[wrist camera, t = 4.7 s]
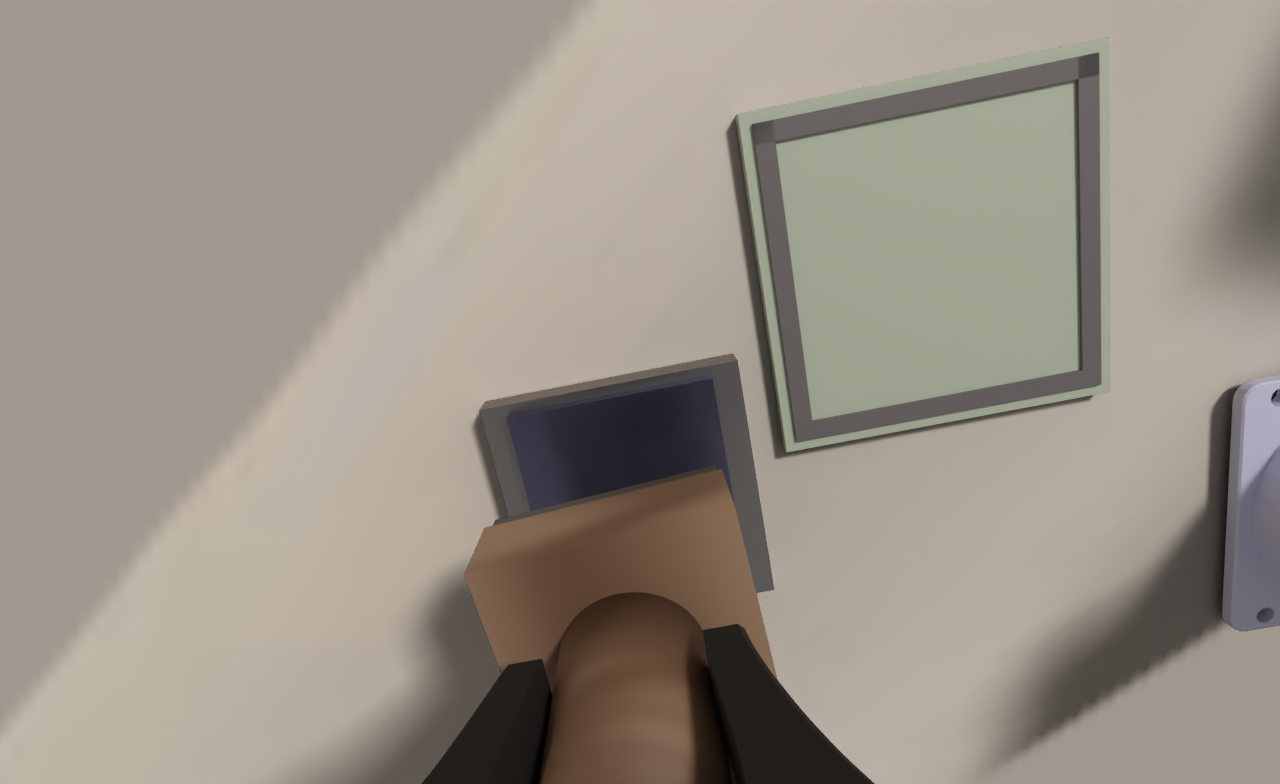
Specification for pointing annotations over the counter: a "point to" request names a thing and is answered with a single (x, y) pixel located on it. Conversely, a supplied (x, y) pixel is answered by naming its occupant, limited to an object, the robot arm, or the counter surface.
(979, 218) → the pale green flat square
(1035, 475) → the counter surface
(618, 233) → the counter surface
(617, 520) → the stamp
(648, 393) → the ink pad
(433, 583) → the counter surface
